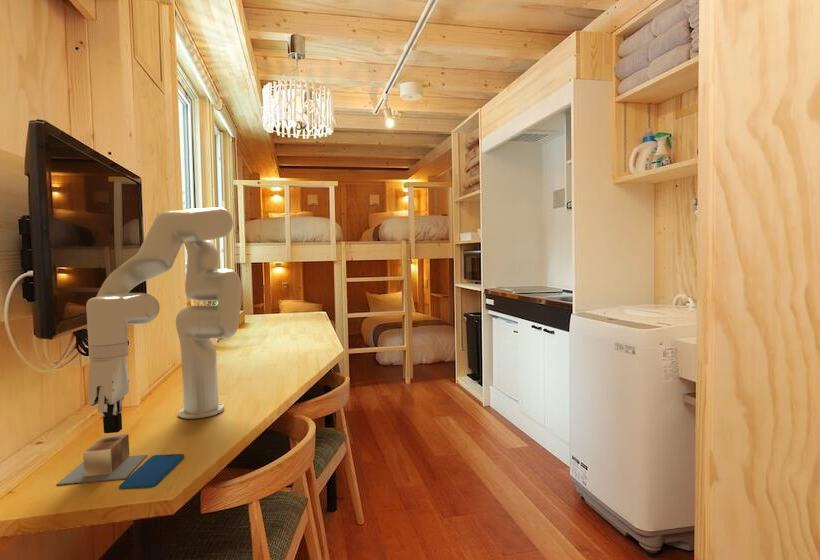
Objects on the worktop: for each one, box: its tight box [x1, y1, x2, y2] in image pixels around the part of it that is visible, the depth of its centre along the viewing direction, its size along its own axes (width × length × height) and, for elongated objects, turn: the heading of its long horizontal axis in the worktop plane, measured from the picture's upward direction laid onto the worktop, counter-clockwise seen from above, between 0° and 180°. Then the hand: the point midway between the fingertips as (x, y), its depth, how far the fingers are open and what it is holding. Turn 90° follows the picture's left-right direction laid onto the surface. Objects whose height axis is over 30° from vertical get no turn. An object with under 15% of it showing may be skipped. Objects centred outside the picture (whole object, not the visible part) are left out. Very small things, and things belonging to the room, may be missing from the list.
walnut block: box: [82, 433, 130, 476], centre depth 107 cm, size 5×5×10 cm
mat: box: [56, 454, 148, 486], centre depth 105 cm, size 12×13×1 cm
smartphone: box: [118, 453, 185, 490], centre depth 104 cm, size 7×1×15 cm
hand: (113, 431), depth 110 cm, fingers closed
